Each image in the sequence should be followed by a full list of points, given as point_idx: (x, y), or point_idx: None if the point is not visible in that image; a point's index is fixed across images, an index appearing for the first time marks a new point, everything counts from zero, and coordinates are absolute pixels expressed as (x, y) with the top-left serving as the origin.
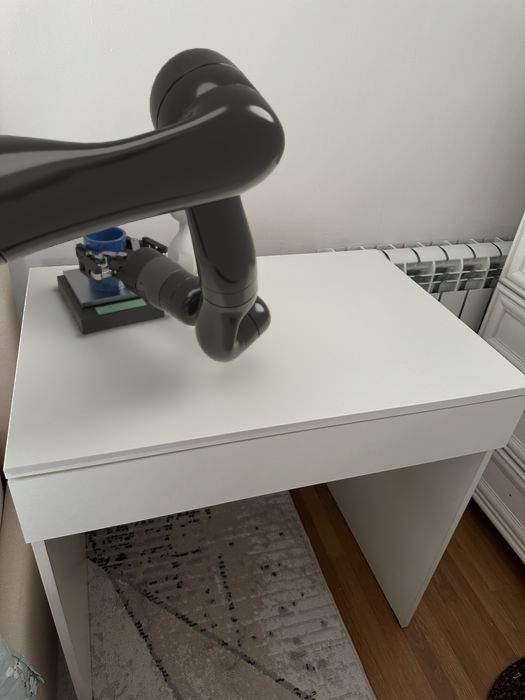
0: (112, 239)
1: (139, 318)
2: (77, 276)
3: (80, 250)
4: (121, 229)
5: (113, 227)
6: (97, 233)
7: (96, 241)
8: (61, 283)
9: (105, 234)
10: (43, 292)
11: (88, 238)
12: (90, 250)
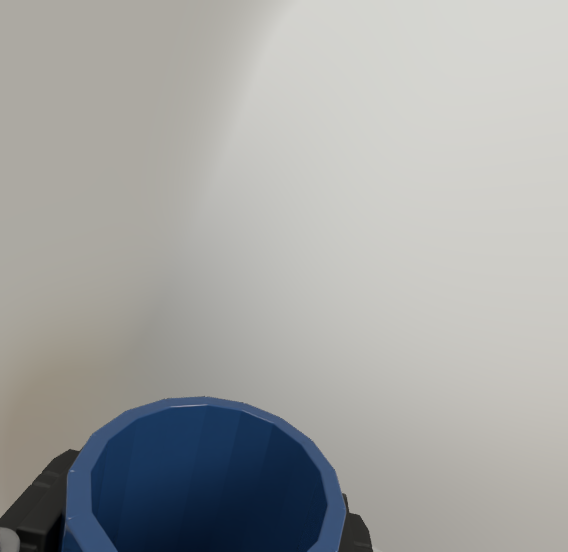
0: (287, 510)
1: None
2: None
3: (42, 485)
4: (335, 501)
5: (311, 458)
6: (239, 439)
7: (73, 505)
8: None
9: (271, 465)
10: None
11: (97, 448)
12: (33, 533)
